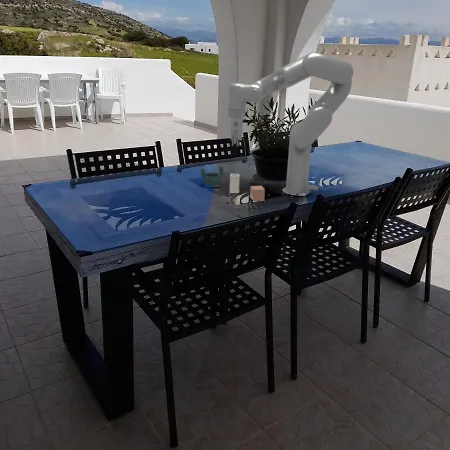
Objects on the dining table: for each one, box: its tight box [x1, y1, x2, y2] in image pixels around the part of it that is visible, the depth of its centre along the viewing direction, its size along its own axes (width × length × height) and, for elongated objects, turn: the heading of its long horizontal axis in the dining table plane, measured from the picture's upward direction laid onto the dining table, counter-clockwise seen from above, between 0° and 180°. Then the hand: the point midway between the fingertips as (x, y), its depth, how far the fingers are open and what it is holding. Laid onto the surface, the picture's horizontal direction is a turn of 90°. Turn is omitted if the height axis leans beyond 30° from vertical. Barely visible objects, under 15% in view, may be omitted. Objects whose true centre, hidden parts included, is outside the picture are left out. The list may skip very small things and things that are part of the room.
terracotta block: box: [249, 185, 266, 202], centre depth 186 cm, size 5×5×6 cm
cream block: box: [229, 173, 241, 194], centre depth 194 cm, size 4×4×9 cm
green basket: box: [200, 165, 224, 185], centre depth 206 cm, size 9×9×9 cm
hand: (234, 154), depth 196 cm, fingers closed
